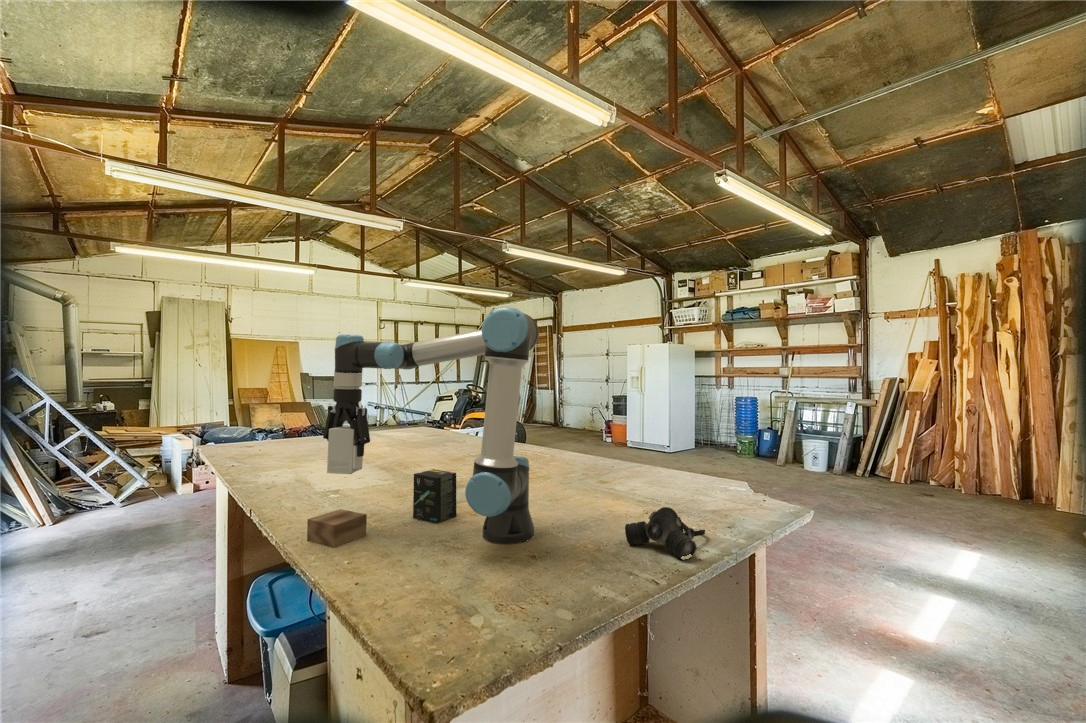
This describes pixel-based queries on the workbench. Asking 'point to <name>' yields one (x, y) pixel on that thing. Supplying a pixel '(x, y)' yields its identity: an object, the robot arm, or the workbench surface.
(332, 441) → the supplement box
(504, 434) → the robot arm
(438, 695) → the workbench surface
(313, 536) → the walnut block
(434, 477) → the tampon box
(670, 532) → the respirator mask
